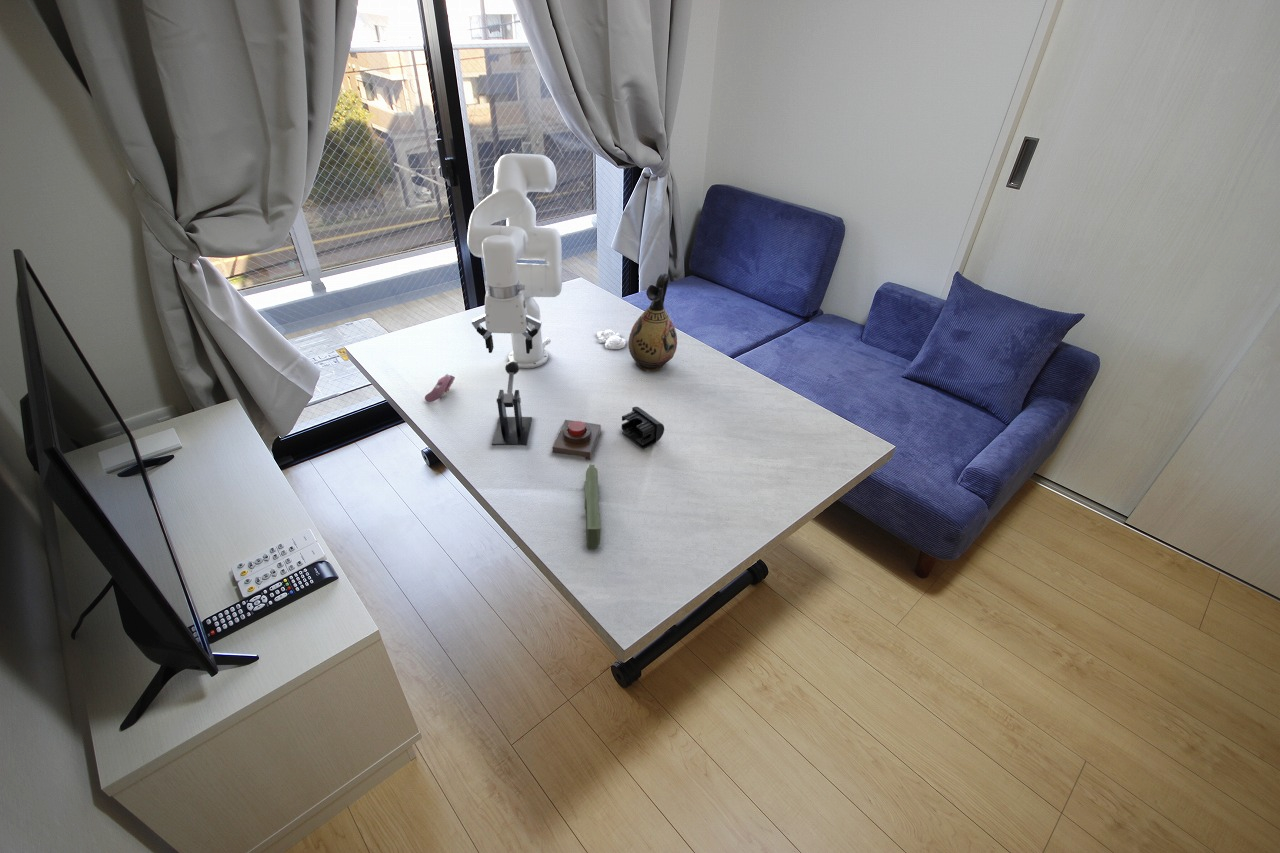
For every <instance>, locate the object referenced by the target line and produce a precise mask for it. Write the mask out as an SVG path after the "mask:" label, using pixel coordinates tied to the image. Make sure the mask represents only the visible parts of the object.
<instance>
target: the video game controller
mask: <svg viewBox="0 0 1280 853" xmlns="http://www.w3.org/2000/svg"><path fill="white" fill-rule="evenodd" d="M455 379H456V377H455V376H453V375H451V374H448V373H446V374H445V375H443V377H439V379H438V380H437V382H436V384H435V385H434V387H433V388H432V390H431V391H430V392H428V393H427V394H426V395H425V396H424V400H425V401H426V402H427V403H433V402H435V401H437V400H438V399H439V400H442V398H443V397H444V396H445V395H446V393H448V392H449V391H450V388H451V386H452V384H454V381H455Z"/></svg>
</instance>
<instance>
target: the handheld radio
mask: <svg viewBox="0 0 1280 853" xmlns="http://www.w3.org/2000/svg"><path fill="white" fill-rule="evenodd" d="M598 481H599V480H598V469H597V468H596V465H595V464H591V463H590V464H588V467H587V469H586V472H585V480H584V510H585V544H586V547H585V548H586V549H587V550H589V551H591V550H597V549H598V547H599V546H600V543H601V531H602V528H601V527H602V524H601V514H600V512H599V486H598V485H599V484H598Z"/></svg>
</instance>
